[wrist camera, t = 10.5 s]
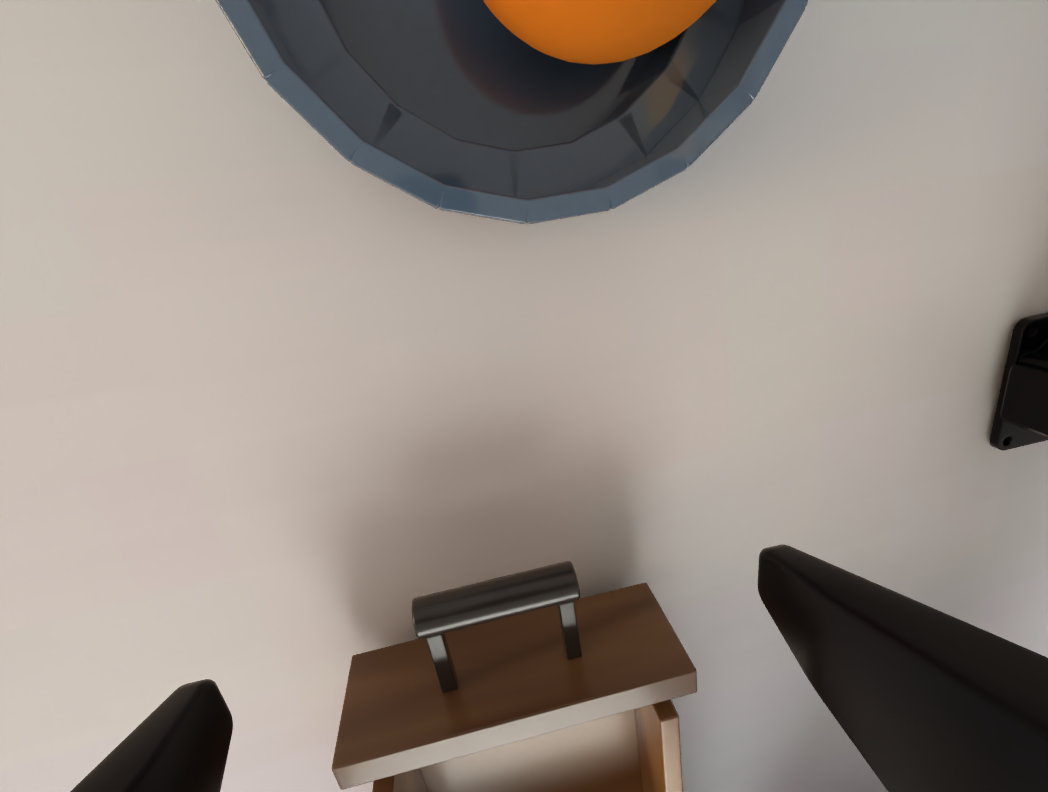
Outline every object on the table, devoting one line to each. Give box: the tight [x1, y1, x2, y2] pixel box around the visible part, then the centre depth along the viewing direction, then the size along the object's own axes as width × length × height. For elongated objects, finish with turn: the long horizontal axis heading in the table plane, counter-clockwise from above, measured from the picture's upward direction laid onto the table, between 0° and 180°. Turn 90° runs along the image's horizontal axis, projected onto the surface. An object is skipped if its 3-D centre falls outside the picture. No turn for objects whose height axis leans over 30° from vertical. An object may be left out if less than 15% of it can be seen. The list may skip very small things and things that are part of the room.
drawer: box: [332, 561, 697, 792], centre depth 23 cm, size 22×13×5 cm, turn 9°
